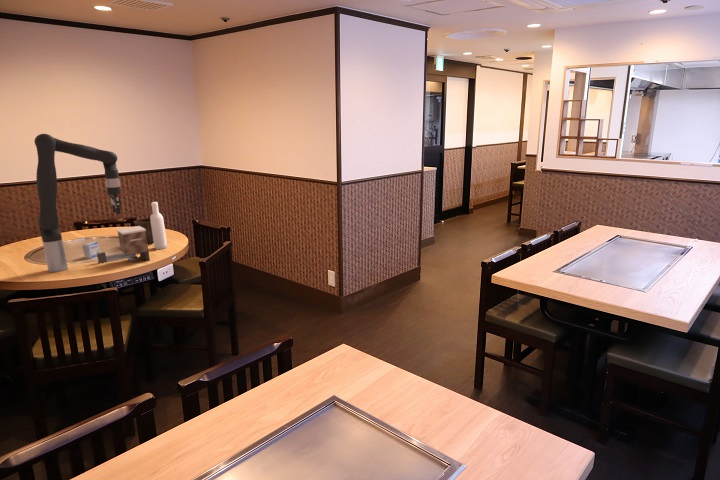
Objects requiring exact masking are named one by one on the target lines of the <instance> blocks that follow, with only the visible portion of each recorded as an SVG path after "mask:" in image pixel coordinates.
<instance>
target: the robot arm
mask: <svg viewBox="0 0 720 480" xmlns="http://www.w3.org/2000/svg"><path fill="white" fill-rule="evenodd" d="M34 145H35V147H36V151H37V153H36V154H37V166H36V175H35V176H36V180H35V181H36V190H37V195H38V201H39V215H37V216H38V217H37V223H38V227H39V232H40V236H41V240H42V245H43V250H44V256H45V261H46V266H47V270H48V272H49V273H56V272H62V271H66V270H68V268H69V267H68V261H67V257H66V253H65V247H64V243H63V238H62V237H63V236H62V233H61V229H60V223H59V221H60V220H59V216H58V211H57V210H58V209H57V197H58V176H57V169H56V163H55V162H56V161H55V157H56V156H55V155H56V153H55V152H57V153H63V154H64V153H65V154H69V155H72V156H75V157H78V158H82V159H86V160H91V161H98V162H101V163H102V165H103V169H104V177H105V189H106V195H109V199H110V202H109V203H110V205H111V209H112V212H113V214H114V213H115V214H116V215H122V214H121V207H122V205H121V203H122V202H121V198H120V196H119V195H121V194H122V188H121V181H120V175H119V171H118V168H117V161H118V156H117V154H116V153H115V152H113V151H109V150H104V149H99V148H96V147H92V146H89V145H84V144H79V143H74V142H73V143H72V142H68V141H66V140H65V141H64V140H61V139H59V138H56V137H54V136H52V135H51V134H48V133H40V134H37V136H36V137H35V139H34Z"/></svg>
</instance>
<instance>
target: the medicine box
mask: <svg viewBox="0 0 720 480" xmlns="http://www.w3.org/2000/svg"><path fill="white" fill-rule="evenodd" d="M82 250H83V254H84V259H93V258H96V257H97V253H99V252H100V247H99V243H98V241H91V242H87V243H86V244H83V245H82Z"/></svg>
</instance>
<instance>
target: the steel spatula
mask: <svg viewBox="0 0 720 480" xmlns="http://www.w3.org/2000/svg"><path fill="white" fill-rule="evenodd" d="M130 256H137V253H135V254H129V255H126V254H125V253H123V252H119V253H114V254H109V255H106V252H105V251H99V253H97V256H96V257H97V258H96V259H97V262H98V264H100V263H101V264H105V263H104V262H106V263H108V261H110V262H115V261H120V260H124V259H128V257H130ZM119 259H120V260H119ZM114 260H115V261H114ZM101 264H100V265H101Z"/></svg>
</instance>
